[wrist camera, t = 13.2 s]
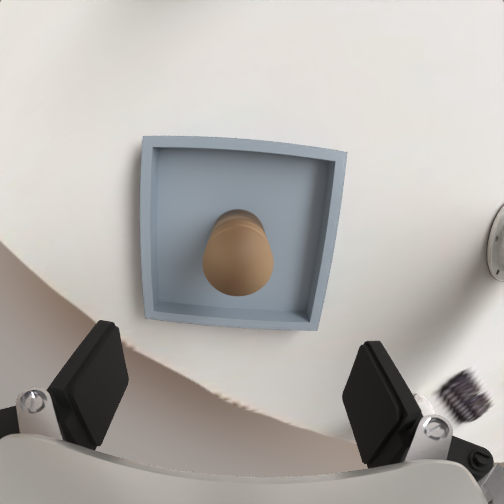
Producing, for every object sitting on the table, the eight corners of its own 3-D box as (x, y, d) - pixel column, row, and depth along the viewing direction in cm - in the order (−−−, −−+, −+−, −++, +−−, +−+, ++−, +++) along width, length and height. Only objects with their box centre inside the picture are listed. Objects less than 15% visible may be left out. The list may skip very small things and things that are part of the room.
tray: (337, 152, 26) (347, 152, 24) (311, 316, 32) (317, 330, 29) (153, 137, 26) (142, 136, 23) (152, 304, 31) (145, 318, 28)
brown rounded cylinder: (266, 211, 27) (277, 232, 20) (261, 261, 29) (269, 298, 21) (213, 207, 27) (204, 226, 19) (210, 257, 29) (201, 293, 21)
